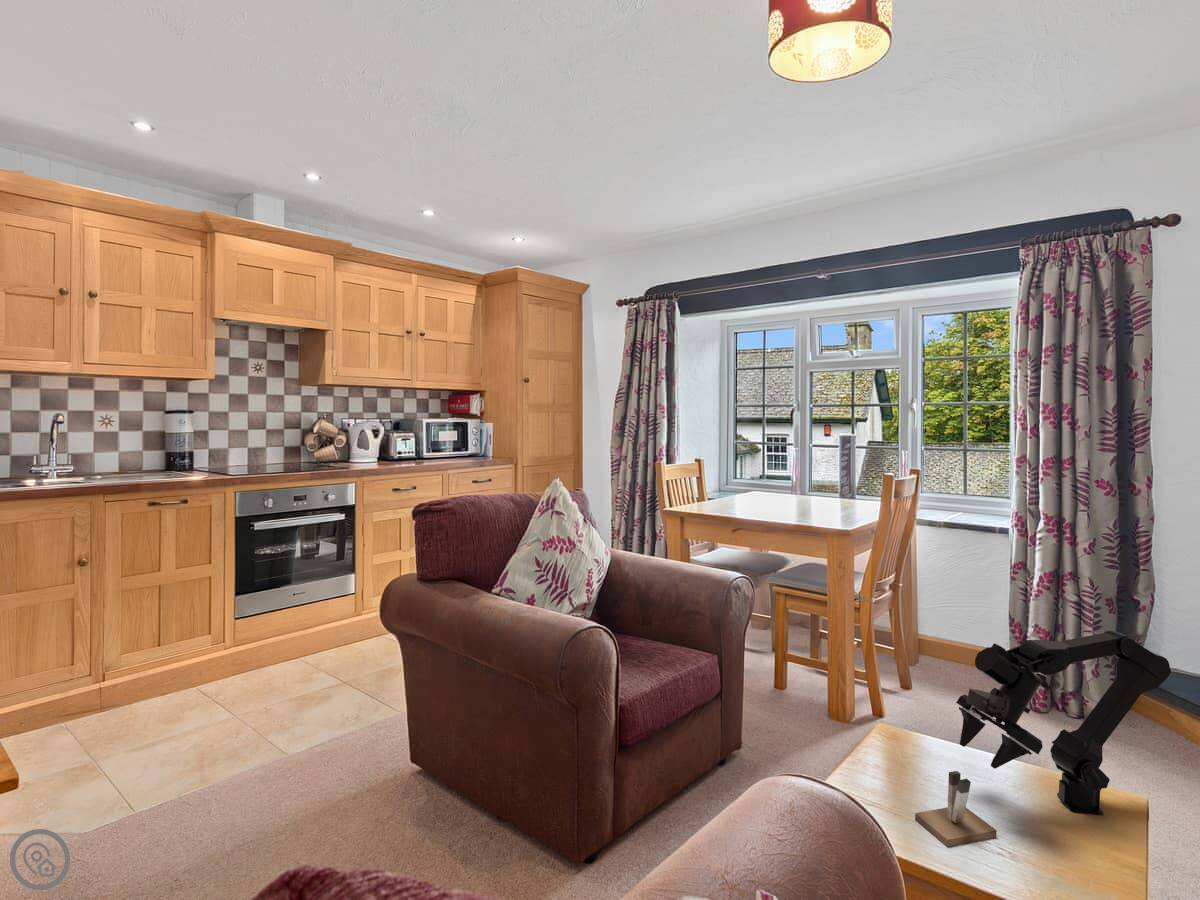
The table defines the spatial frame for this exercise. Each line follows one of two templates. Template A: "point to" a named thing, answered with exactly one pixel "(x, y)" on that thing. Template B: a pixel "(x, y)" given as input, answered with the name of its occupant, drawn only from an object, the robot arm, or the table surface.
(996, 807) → the table surface
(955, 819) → the arm
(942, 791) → the table surface
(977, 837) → the stand
